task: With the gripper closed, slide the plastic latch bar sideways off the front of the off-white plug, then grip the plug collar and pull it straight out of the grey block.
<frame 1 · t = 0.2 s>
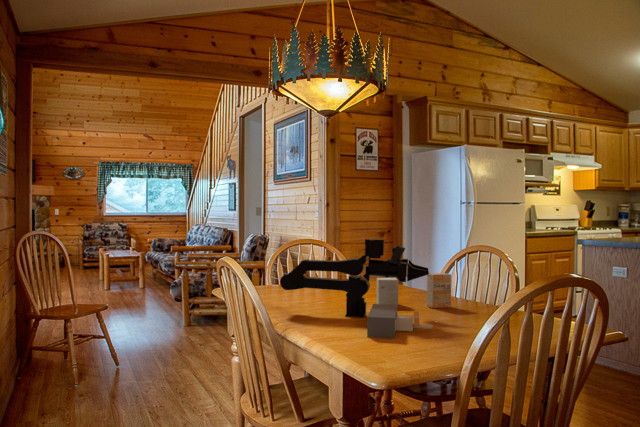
hand: (428, 271, 166), 17 cm above the table, tool horizontal, fingers open, 9 cm apart
grey block: (383, 329, 151), on the table
latch: (416, 318, 149), point 4 cm above the table, slide at 0.0 cm
supplement box: (438, 307, 187), on the table
small box: (387, 305, 191), on the table
plug: (414, 323, 149), point 2 cm above the table, slide at 0.0 cm
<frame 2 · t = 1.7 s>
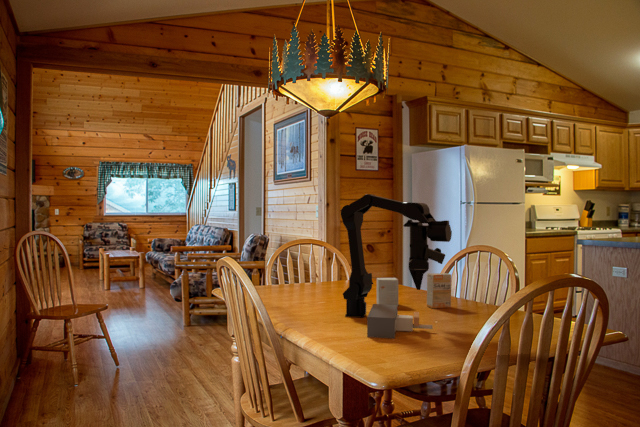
hand: (418, 288, 158), 12 cm above the table, tool pointing down, fingers open, 6 cm apart
nothing on the table moved.
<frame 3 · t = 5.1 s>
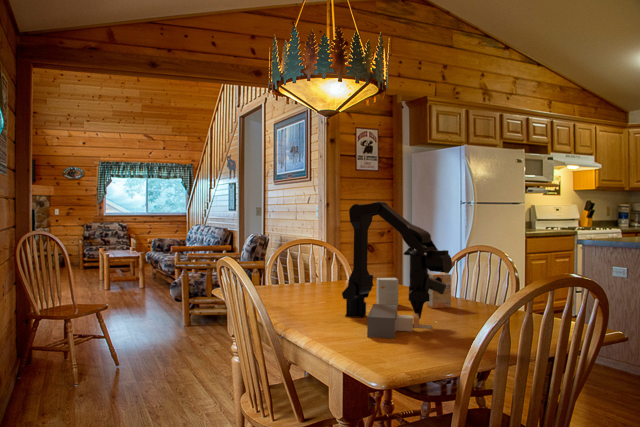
hand: (418, 318, 153), 3 cm above the table, tool pointing down, fingers closed
latch: (416, 319, 148), point 4 cm above the table, slide at 1.5 cm, touching gripper
everything else where it was.
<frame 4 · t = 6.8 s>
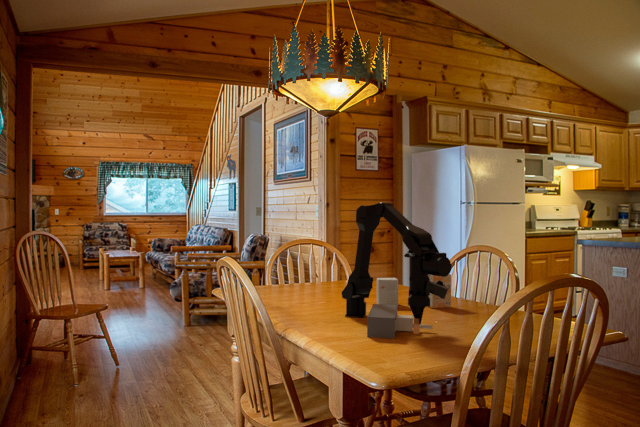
hand: (418, 324, 145), 3 cm above the table, tool pointing down, fingers closed
latch: (416, 325, 140), point 4 cm above the table, slide at 9.3 cm, touching gripper
everything else where it was.
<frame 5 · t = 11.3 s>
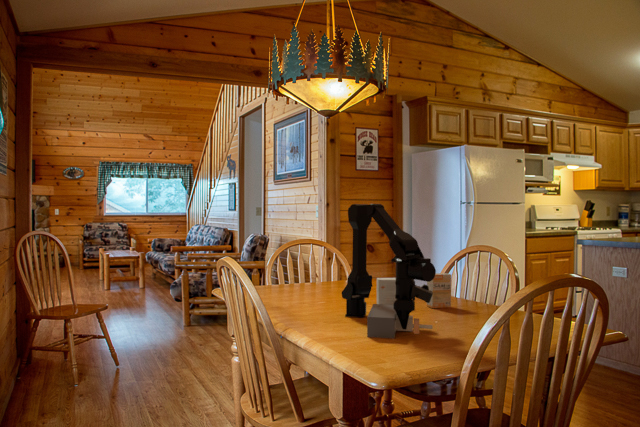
hand: (404, 327, 150), 1 cm above the table, tool pointing down, fingers closed on plug, 4 cm apart
latch: (416, 325, 140), point 4 cm above the table, slide at 9.4 cm
plug: (414, 323, 149), point 2 cm above the table, slide at 0.0 cm, touching gripper
everything else where it was.
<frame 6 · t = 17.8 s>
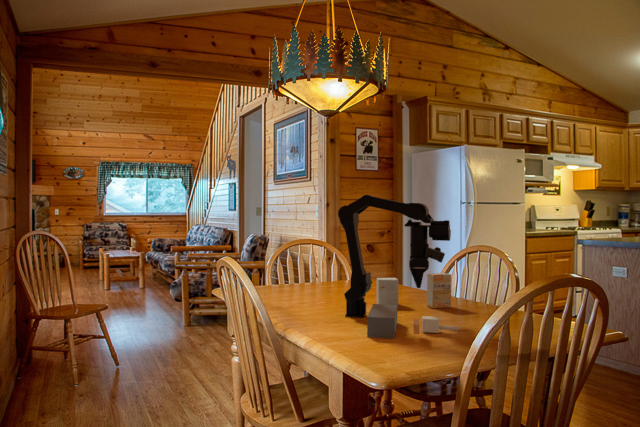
hand: (418, 285, 163), 12 cm above the table, tool pointing down, fingers open, 9 cm apart
plug: (440, 324, 148), point 2 cm above the table, slide at 7.9 cm
everything else where it was.
at the end: latch slide at 9.4 cm; plug slide at 7.9 cm; the gripper is holding nothing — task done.
